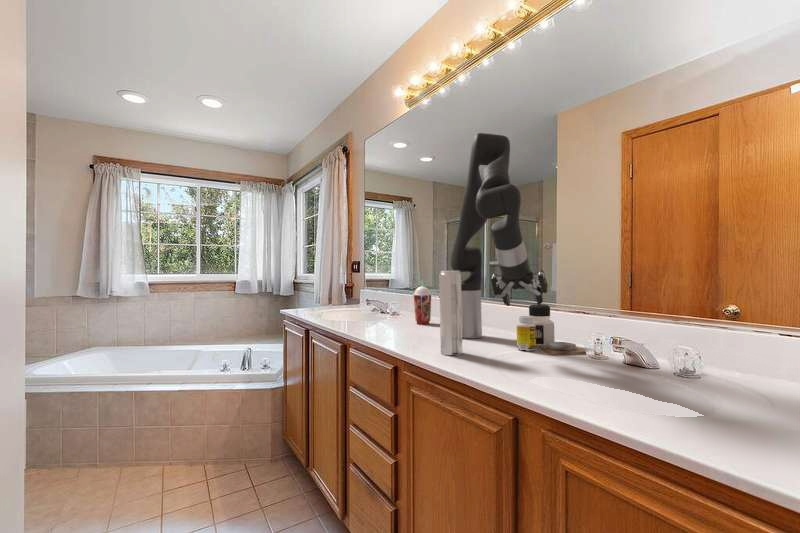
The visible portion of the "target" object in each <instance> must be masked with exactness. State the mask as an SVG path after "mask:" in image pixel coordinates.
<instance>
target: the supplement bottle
mask: <svg viewBox="0 0 800 533" xmlns="http://www.w3.org/2000/svg"><path fill="white" fill-rule="evenodd" d="M532 322H533V317H532V316H529V315H520V316H518V322H517V323H516V348H517V350H518V349H520V350H519V351H521V350H526V351H525V352H531V351H530V350H534V351H535V350H536V349H537V346H536V326H535V323H532Z"/></svg>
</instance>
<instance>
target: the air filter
mask: <svg viewBox="0 0 800 533" xmlns="http://www.w3.org/2000/svg"><path fill="white" fill-rule="evenodd" d="M438 276H439V277H438V278H439V279H438V282H439V283H438V288H439V290H438V291H439V326H440V327H439V329H440V330H439V332H440V333H439V336H440V338H439V339H440V354H441V355H443V354H444V356H448V355H456V356H461V355H462V354H463V352H464V351H463V338H462V304H461V281H462V272H460V271H454V270H441V271H440V273H439V274H438Z"/></svg>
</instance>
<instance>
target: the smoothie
mask: <svg viewBox="0 0 800 533" xmlns="http://www.w3.org/2000/svg"><path fill="white" fill-rule="evenodd" d="M420 284H421V286H419V287H417V288H415V290H414V293H413V302H414V303H413V305H414V317H415V322H416V324H417V325H421V324H422V325H424V326H425V325H429V324H430V322H431V313H432V310H431V308H432V293H431V291H430V289H429V288H428V287H426V286H424V282H423V279H421V282H420Z"/></svg>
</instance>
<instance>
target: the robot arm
mask: <svg viewBox="0 0 800 533" xmlns="http://www.w3.org/2000/svg"><path fill="white" fill-rule="evenodd" d="M470 150H471V151H470V157H469V165H468V174H467V179H466V186H465V190H464V194H463V199H462V203H461V207H460V208H461V209H460V215H459V221H458V228H457V231H456V232H457V233H456V236H455V240H454V244H453V246H452V250H451V254H450V266H451V269H452V271H460V273H469V275H468V276H467V277H466V278H465V279H461V304H462V339H477V338H478V339H480V338H482V337H483V327H482V326H483V322H482V321H483V320H482V319H483V318H482V271H483V270H482V269H483V268H482V266H483V265H482V263H483V256H482V251H481V249H480V247H478V246H467V245H468V243H469V242H470V240H471V239H472V238H474V236H475V235H476V234H477V233H478V232H479V231H481V229H482V228H483V227H484V226H485V225H486V223H487V220H489V219H490V220H491V219H495V218H499V217H503V216H505V217H503V218H501V219H499V220H497V221H495V222H494V223H493V224H492V225H491V228H490V233H491V237H492V240H493V244H494V249H495V256H496V260H497V263H498V266H499V269H500V275H498V274H497V273H492V276H491V280H490V281H491V285H492V286H491V287H492V290H493V294H494V295H495V296H499V295H500V296H501V298H502V302H503V304H504V305H506V307H510V305H511V299H510V295H509V292H510V290H511V289H513V290H518V289H519V290H527V291H529V292H532V293H534V294H535V299H536V302H537V303H536V304H538V305H541V304H543V302H544V297H543V294H547V292H548V289H549V288H548V287H549V285H548V281H547V278H546V274H545V272H544V270H542V269H540V270H539V271H538V272H534V273H533V271H532V270H531V266H530V263H529V258H528V253H527V249H526V246H525V243H524V241H523V236H522V230H521V226H520V211H521V203H522V202H521V201H522V197H521V192H520V189H519V188H518V187H517V186H516V185H514V184H512V183H511V182H510V175H509V174H510V173H509V168H510V167H509V166H510V156H511V155H510V154H511V153H510V152H511V143H510V139H509V137H508V136H505V135H502V134H496V133H495V134H494V133H493V134H492V133H487V132H486V133H484V132H479V133H477V134H475V135H474V138H473V141H472V144H471V149H470ZM480 166H485V168H484V169H483V171H482V173H481V174H480ZM481 175H482V176H481ZM534 279H535V280H536V281H537V282H539V284H537V283H536V281H535V280H534ZM500 281H501V282H503V283H504V286H503V287H502V288H501V287H500Z"/></svg>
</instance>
